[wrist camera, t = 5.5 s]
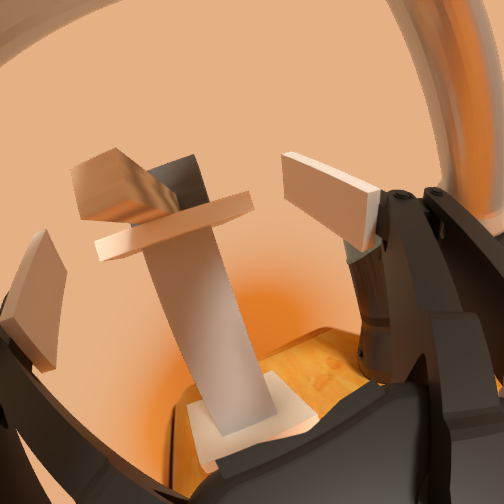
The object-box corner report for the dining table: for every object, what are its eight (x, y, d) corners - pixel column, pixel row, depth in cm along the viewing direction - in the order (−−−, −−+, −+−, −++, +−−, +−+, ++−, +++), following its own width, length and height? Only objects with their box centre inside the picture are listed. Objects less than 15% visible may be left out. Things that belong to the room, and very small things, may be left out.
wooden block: (148, 234, 40) (135, 189, 39) (213, 211, 40) (198, 166, 40) (36, 241, 13) (21, 137, 12) (192, 175, 14) (161, 67, 13)
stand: (190, 413, 42) (119, 245, 39) (275, 379, 47) (218, 211, 44) (206, 474, 27) (94, 241, 24) (320, 424, 31) (248, 190, 28)
